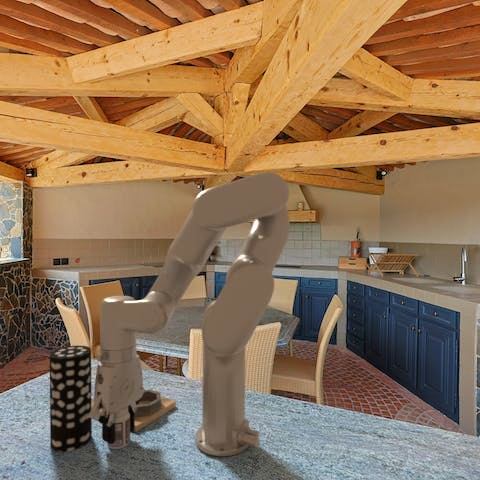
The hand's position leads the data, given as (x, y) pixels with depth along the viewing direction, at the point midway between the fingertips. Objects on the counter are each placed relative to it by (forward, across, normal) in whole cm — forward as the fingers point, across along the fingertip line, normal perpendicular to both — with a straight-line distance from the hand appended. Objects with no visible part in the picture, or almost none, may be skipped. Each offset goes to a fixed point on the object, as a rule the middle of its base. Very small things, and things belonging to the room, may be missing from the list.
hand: (118, 434), depth 79 cm
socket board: (+2, +12, +10) cm, 16 cm away
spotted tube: (+2, -5, +10) cm, 11 cm away
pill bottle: (+2, 0, 0) cm, 2 cm away
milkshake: (+2, +25, -7) cm, 26 cm away
